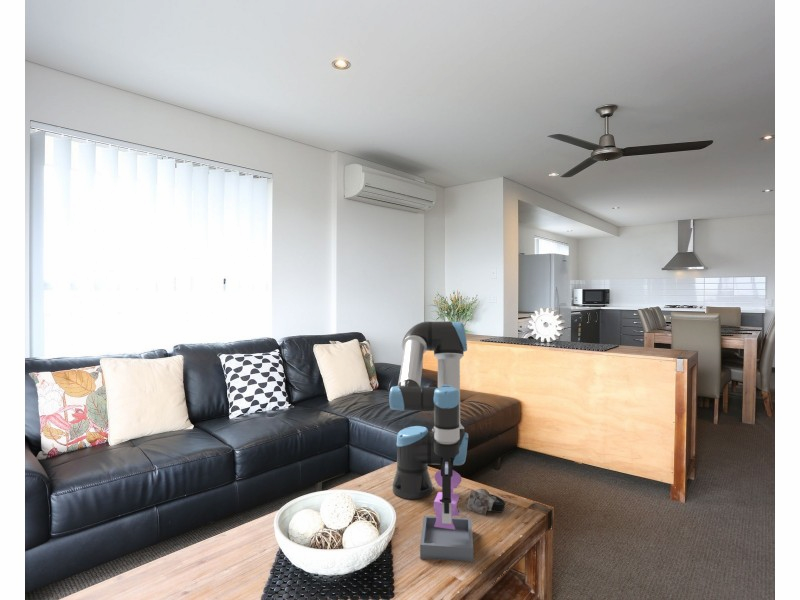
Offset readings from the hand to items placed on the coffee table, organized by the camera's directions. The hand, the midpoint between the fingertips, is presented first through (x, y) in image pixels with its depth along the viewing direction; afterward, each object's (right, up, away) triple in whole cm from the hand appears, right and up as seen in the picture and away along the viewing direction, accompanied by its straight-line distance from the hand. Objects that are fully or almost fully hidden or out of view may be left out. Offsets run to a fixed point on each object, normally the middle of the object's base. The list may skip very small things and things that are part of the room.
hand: (446, 514), depth 135 cm
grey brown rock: (+16, -9, +21) cm, 28 cm away
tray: (0, -9, 0) cm, 9 cm away
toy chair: (0, -3, 0) cm, 3 cm away
